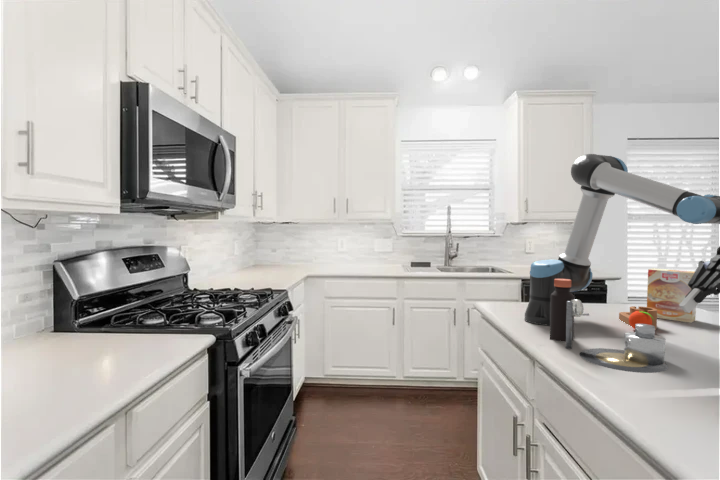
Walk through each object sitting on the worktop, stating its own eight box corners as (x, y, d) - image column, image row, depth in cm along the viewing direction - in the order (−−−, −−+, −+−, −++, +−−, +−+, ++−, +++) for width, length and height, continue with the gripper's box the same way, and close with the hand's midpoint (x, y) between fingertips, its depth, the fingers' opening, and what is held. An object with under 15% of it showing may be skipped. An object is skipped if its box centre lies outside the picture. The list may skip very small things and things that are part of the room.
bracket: (661, 330, 149) (661, 311, 149) (635, 329, 151) (635, 310, 150) (638, 319, 166) (639, 302, 166) (615, 318, 168) (616, 301, 168)
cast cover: (616, 353, 117) (617, 321, 116) (646, 353, 118) (647, 321, 117) (641, 364, 108) (642, 330, 108) (673, 363, 109) (674, 329, 109)
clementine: (659, 332, 146) (660, 312, 145) (647, 334, 142) (648, 313, 142) (635, 327, 153) (636, 307, 152) (624, 329, 150) (624, 309, 149)
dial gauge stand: (557, 349, 124) (558, 298, 124) (582, 349, 125) (583, 297, 125) (567, 355, 120) (568, 301, 119) (593, 354, 120) (594, 300, 120)
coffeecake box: (646, 316, 171) (647, 269, 170) (650, 314, 175) (652, 267, 175) (692, 323, 160) (694, 272, 159) (695, 320, 164) (697, 270, 164)
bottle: (550, 343, 131) (551, 280, 130) (549, 338, 137) (550, 277, 136) (574, 346, 128) (576, 281, 127) (572, 340, 134) (573, 278, 134)
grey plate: (564, 353, 121) (564, 349, 121) (628, 351, 123) (628, 347, 123) (613, 378, 101) (613, 373, 101) (688, 375, 103) (688, 371, 103)
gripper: (709, 237, 121) (655, 295, 119) (757, 238, 108) (697, 303, 107) (725, 255, 122) (672, 313, 120) (774, 258, 109) (715, 324, 107)
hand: (684, 309), depth 113 cm, fingers closed
